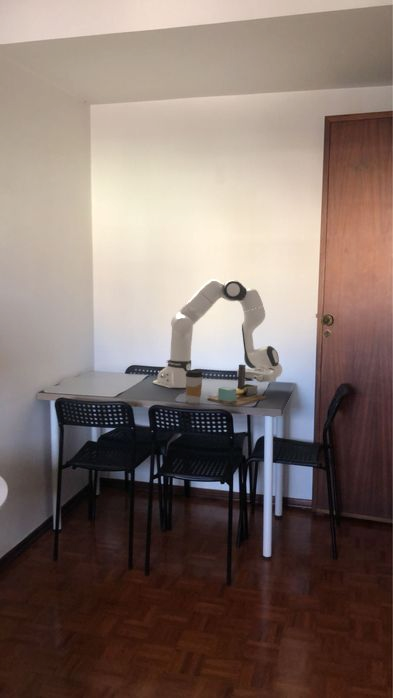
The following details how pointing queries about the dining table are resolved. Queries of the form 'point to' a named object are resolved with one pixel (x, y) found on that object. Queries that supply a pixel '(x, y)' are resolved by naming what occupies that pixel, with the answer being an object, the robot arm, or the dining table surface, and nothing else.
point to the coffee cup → (193, 386)
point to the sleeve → (250, 390)
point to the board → (239, 400)
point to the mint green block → (227, 394)
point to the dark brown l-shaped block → (241, 381)
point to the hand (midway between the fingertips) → (247, 376)
